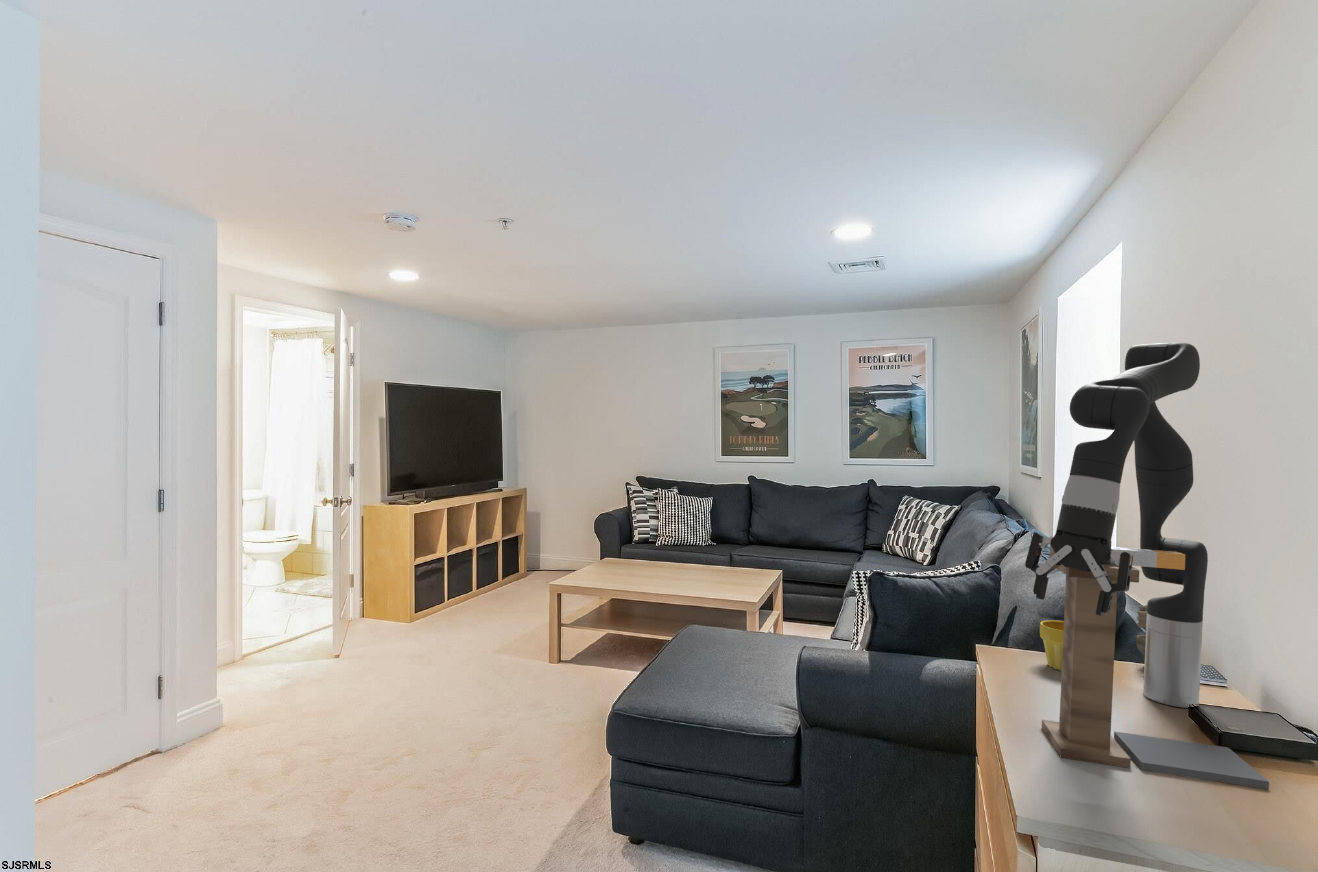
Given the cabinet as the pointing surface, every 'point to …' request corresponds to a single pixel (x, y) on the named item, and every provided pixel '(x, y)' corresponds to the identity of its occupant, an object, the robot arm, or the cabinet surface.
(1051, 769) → the cabinet surface
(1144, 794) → the cabinet surface
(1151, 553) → the grey block hammer
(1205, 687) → the cabinet surface
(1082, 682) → the walnut stand
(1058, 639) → the plant pot
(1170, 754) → the rubber mat
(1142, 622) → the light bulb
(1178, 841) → the cabinet surface
